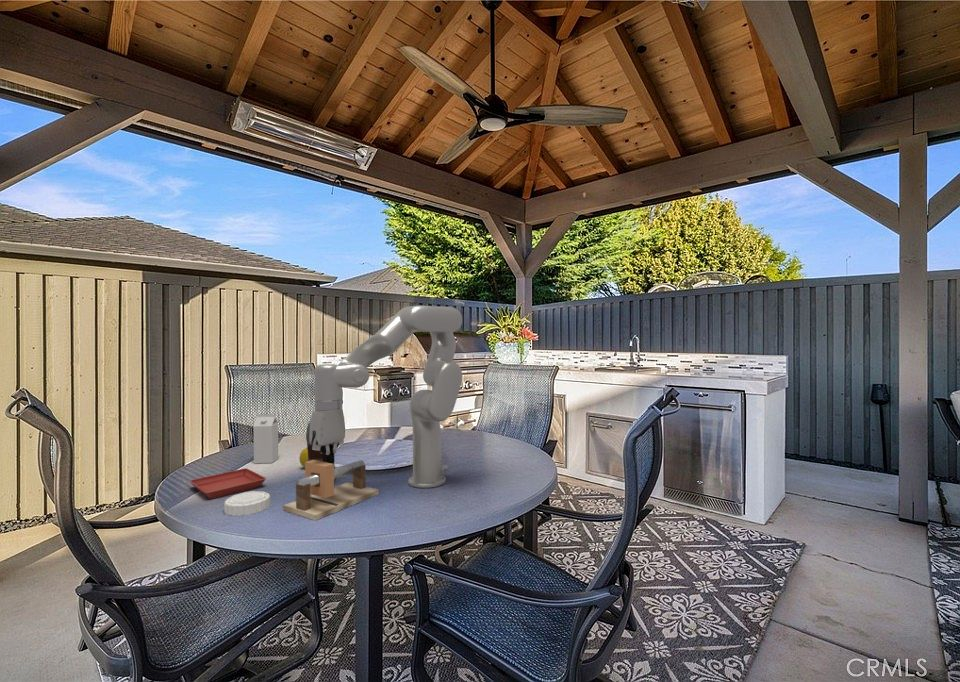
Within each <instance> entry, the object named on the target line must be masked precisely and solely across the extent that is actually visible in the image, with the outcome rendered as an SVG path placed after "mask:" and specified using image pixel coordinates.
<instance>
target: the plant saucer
mask: <svg viewBox="0 0 960 682" xmlns="http://www.w3.org/2000/svg"><path fill="white" fill-rule="evenodd" d="M266 480H267V478H266V477H265V476H262V475H261V474H259V473H256V472H255V471H253V470H251V469H249V468H241V469H237V470H232V471H227V472H222V473H217V474H213V475H208V476H203V477H200V478H198V477H197V478H195V479H191V480H189V483H190V484H191V485H192V486H194V488H195V489H197V490H198V491H200V492H201V494H203V495H204V496H206V497H207V498H209V499H216V498H221V497H225V496H229V495H233V494H238V493H242V492H246V491H248V490H252V489H257V488H260V486H261V485H262V484H263V483H265V481H266Z"/></svg>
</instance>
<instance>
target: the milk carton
mask: <svg viewBox="0 0 960 682" xmlns="http://www.w3.org/2000/svg"><path fill="white" fill-rule="evenodd" d="M277 419H278V418H276V414H275V413H272V414H270V413H269V414H268V413H266V414H256V418H255V420H254V424H253V463H254V464H255V465H256V464H273V463H274V462H276V461H277V460H278V459H279V422H278V420H277Z"/></svg>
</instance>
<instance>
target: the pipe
mask: <svg viewBox="0 0 960 682" xmlns="http://www.w3.org/2000/svg"><path fill="white" fill-rule="evenodd" d="M365 464H366V463H365V461H364V460H363V459H359V460H356V461H353V462H349V463H347V464H344V465H340V466H337V467H335V468H334V480H335V479H338V478H341V477H344V476H347V475H350V474H353V472H356V471H359V470H360V467H361V466H364V465H365ZM365 466H366V465H365ZM296 483H297V484H299V485H303V486H304V485H307V484H310V487H312V486H315V485H318V484H320V474H315V475H311V476H308V477H305V476H304V477H302V478H299V479H297V481H296ZM303 486H302V489H303ZM299 488H301V487H299ZM299 488H298V489H299ZM302 489H301V490H302Z"/></svg>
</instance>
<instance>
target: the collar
mask: <svg viewBox="0 0 960 682" xmlns="http://www.w3.org/2000/svg"><path fill="white" fill-rule="evenodd" d="M334 465H335V463H334V464H332V463H327V462H322V461H317V460H311V461H307V462H305V467H304V478H305V477H308V476H311V475H315V474H320V484H318V485H315V486H312V487H310V495H316V496H320V497H324V498H327V497H330V496H333V495H334V487H335V479H334Z"/></svg>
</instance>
